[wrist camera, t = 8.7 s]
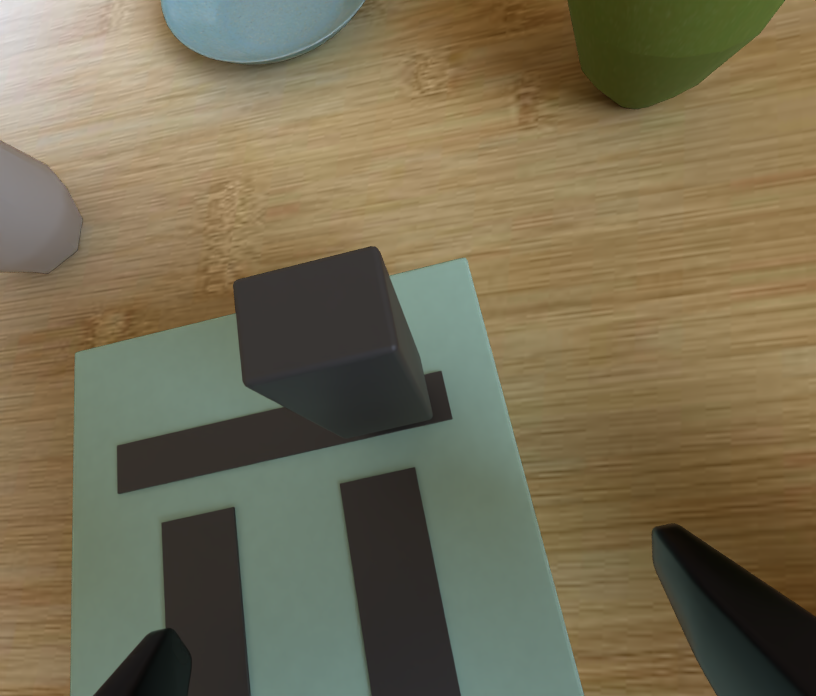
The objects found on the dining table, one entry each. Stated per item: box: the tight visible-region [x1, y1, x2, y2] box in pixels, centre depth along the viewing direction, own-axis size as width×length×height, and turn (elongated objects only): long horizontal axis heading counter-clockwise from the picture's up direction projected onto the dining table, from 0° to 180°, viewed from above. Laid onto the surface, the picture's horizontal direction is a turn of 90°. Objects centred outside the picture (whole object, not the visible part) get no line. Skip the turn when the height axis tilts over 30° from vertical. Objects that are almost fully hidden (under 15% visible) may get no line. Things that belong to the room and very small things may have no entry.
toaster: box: [70, 258, 584, 696], centre depth 15 cm, size 16×11×9 cm
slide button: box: [233, 246, 433, 439], centre depth 9 cm, size 2×2×6 cm
